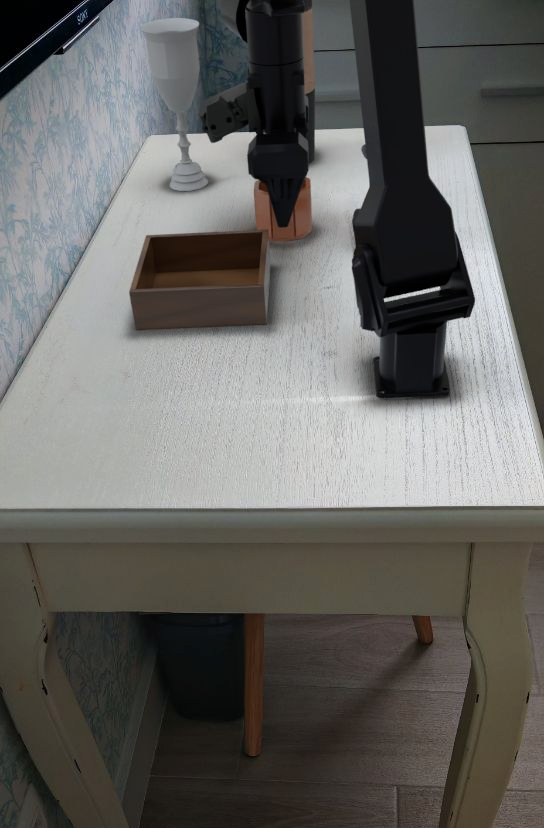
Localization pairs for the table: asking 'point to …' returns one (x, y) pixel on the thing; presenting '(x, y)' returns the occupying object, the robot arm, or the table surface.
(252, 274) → the wooden box
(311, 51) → the travel mug
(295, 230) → the bucket
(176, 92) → the chalice
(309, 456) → the table surface
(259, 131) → the robot arm
